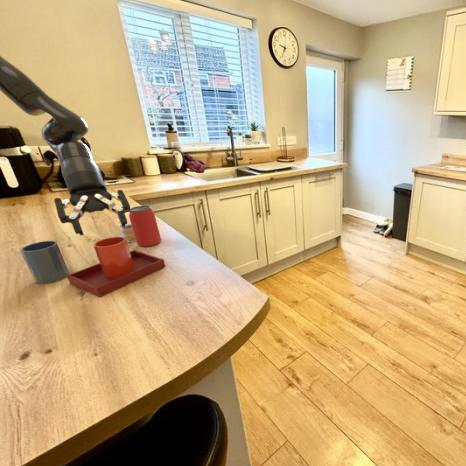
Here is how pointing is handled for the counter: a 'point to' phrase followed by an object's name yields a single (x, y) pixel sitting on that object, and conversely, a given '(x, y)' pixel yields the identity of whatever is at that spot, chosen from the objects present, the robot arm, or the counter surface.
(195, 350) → the counter surface
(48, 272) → the blue cup
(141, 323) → the counter surface
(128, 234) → the stacked layers on plate
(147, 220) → the beer can
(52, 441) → the counter surface
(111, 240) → the red cup
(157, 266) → the red tray
